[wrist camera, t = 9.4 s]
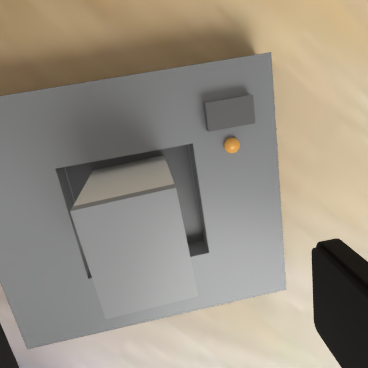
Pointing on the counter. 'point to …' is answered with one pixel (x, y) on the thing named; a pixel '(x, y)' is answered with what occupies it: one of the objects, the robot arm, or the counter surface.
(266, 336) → the counter surface
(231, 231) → the socket plate
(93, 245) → the plug
